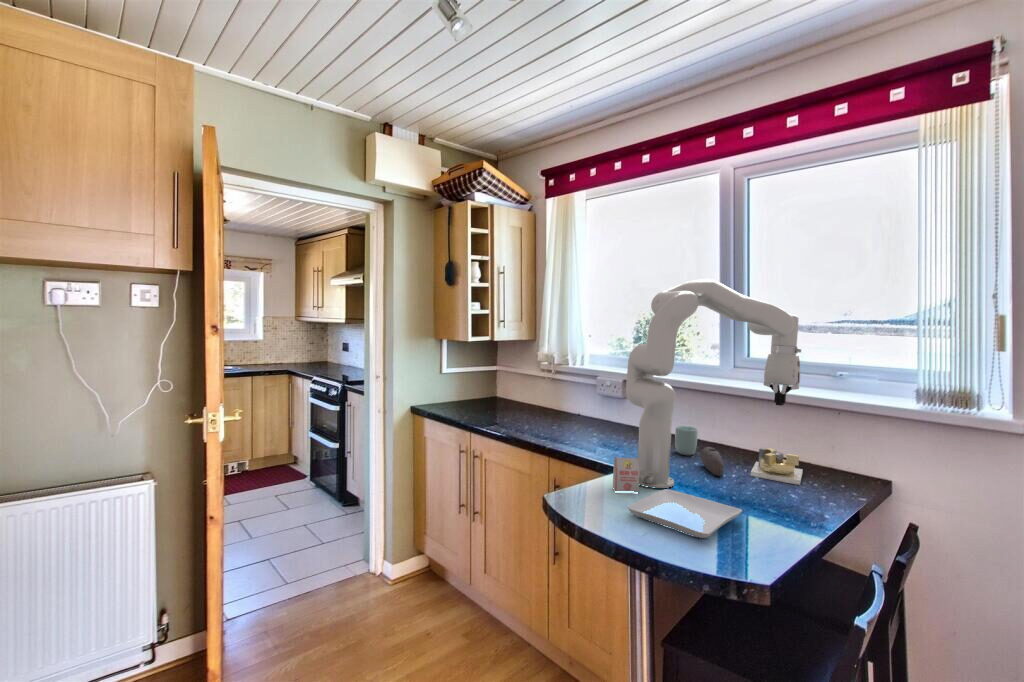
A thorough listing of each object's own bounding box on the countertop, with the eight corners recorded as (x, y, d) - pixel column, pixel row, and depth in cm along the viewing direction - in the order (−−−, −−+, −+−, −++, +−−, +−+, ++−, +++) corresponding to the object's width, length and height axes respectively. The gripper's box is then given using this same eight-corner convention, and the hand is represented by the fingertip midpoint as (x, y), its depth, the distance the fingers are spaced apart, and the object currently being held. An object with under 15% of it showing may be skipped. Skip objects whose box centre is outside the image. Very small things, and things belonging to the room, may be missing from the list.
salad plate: (624, 518, 123) (624, 505, 123) (665, 498, 138) (666, 486, 137) (707, 548, 108) (707, 533, 107) (743, 522, 123) (743, 509, 122)
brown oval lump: (727, 479, 155) (728, 458, 155) (710, 478, 156) (711, 457, 155) (715, 465, 170) (716, 446, 169) (699, 464, 170) (700, 445, 170)
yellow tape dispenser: (802, 471, 160) (803, 454, 159) (789, 477, 153) (790, 460, 152) (767, 462, 168) (768, 447, 168) (753, 468, 161) (753, 452, 161)
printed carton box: (612, 488, 143) (613, 455, 143) (635, 489, 143) (637, 456, 142) (614, 493, 139) (616, 459, 139) (638, 494, 139) (639, 460, 139)
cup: (699, 457, 179) (700, 430, 179) (678, 456, 179) (679, 430, 179) (692, 451, 187) (693, 426, 186) (671, 450, 187) (673, 425, 187)
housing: (800, 485, 151) (801, 463, 151) (750, 475, 159) (751, 454, 159) (802, 473, 163) (803, 453, 163) (756, 465, 171) (757, 446, 170)
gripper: (811, 352, 160) (807, 407, 161) (763, 349, 171) (759, 400, 172) (805, 352, 155) (801, 409, 156) (755, 349, 165) (752, 402, 166)
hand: (779, 404), depth 164 cm, fingers closed
